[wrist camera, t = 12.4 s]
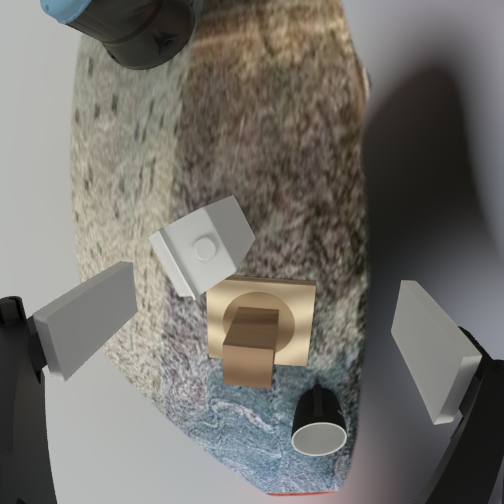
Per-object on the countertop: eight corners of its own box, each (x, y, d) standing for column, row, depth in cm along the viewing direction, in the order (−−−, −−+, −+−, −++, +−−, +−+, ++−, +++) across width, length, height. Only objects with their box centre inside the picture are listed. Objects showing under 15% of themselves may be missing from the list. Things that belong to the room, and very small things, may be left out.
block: (238, 306, 46) (222, 344, 35) (279, 309, 45) (273, 349, 35) (238, 340, 48) (223, 383, 37) (276, 344, 47) (270, 388, 36)
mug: (341, 414, 52) (345, 453, 42) (295, 418, 53) (292, 457, 43) (342, 366, 49) (349, 405, 39) (290, 371, 50) (287, 411, 41)
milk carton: (214, 258, 47) (165, 312, 29) (192, 216, 46) (128, 247, 28) (256, 238, 45) (229, 285, 27) (234, 194, 44) (190, 212, 26)
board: (209, 273, 48) (205, 278, 46) (315, 281, 46) (316, 286, 44) (211, 350, 51) (208, 357, 49) (306, 359, 49) (306, 366, 47)
